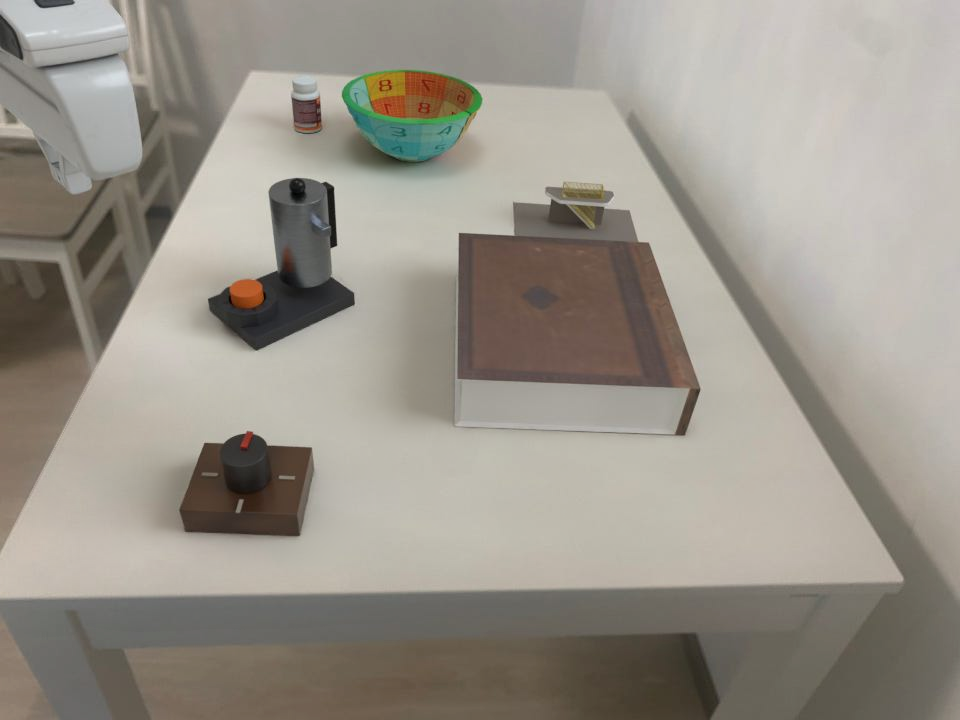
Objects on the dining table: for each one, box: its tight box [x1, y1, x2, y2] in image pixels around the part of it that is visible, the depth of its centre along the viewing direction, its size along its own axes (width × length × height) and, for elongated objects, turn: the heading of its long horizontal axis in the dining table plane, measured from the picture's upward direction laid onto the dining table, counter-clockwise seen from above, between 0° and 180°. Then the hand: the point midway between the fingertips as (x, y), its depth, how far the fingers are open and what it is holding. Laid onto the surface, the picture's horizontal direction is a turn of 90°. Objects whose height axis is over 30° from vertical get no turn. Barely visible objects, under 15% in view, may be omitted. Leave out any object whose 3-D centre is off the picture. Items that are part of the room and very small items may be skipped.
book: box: [453, 232, 702, 436], centre depth 89 cm, size 24×28×6 cm
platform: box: [513, 180, 639, 242], centre depth 111 cm, size 12×18×7 cm, turn 89°
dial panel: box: [178, 442, 315, 537], centre depth 70 cm, size 10×8×3 cm
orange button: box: [230, 278, 264, 309], centre depth 88 cm, size 4×4×2 cm
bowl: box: [341, 69, 483, 163], centre depth 126 cm, size 22×22×10 cm
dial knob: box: [220, 430, 272, 493], centre depth 68 cm, size 4×4×4 cm
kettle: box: [268, 177, 338, 288], centre depth 89 cm, size 8×8×12 cm
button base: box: [207, 270, 356, 351], centre depth 92 cm, size 15×10×4 cm
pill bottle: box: [290, 75, 323, 134], centre depth 131 cm, size 5×5×8 cm
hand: (73, 185), depth 60 cm, fingers closed
